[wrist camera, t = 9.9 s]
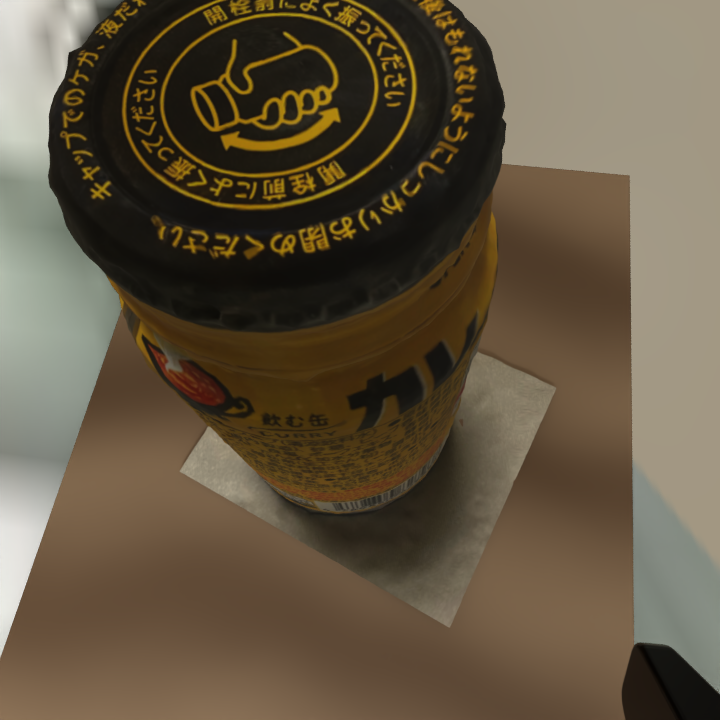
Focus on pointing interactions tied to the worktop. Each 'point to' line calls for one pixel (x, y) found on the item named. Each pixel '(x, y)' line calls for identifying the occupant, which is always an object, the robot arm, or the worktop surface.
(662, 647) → the robot arm
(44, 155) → the worktop surface
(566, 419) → the walnut board
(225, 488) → the yellow black cylinder
